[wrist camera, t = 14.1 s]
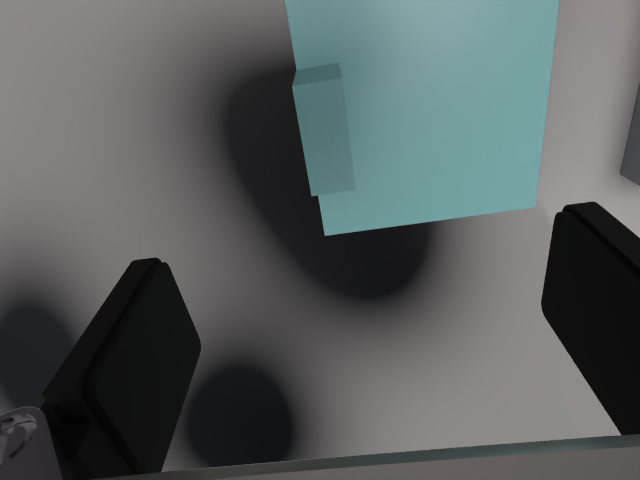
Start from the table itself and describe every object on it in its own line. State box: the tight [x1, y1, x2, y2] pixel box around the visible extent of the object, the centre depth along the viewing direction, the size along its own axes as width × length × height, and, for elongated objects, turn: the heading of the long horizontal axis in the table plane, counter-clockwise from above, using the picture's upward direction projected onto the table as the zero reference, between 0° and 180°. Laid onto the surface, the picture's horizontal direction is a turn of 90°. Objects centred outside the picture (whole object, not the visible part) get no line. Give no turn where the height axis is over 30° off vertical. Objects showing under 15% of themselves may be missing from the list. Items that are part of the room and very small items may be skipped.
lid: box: [285, 0, 560, 235], centre depth 25 cm, size 17×15×8 cm
